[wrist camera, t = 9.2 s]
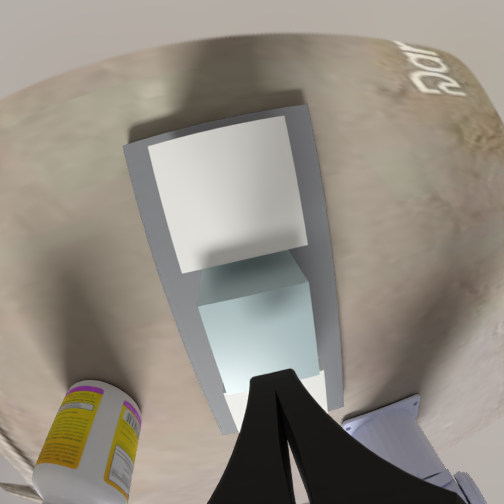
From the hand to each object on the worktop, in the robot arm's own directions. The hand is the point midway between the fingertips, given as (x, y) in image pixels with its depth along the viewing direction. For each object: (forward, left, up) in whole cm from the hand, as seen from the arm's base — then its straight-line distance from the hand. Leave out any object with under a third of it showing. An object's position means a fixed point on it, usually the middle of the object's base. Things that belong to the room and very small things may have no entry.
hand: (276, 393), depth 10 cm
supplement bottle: (-9, +14, -11) cm, 20 cm away
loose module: (0, 0, -8) cm, 9 cm away
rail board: (-2, 0, -10) cm, 10 cm away
